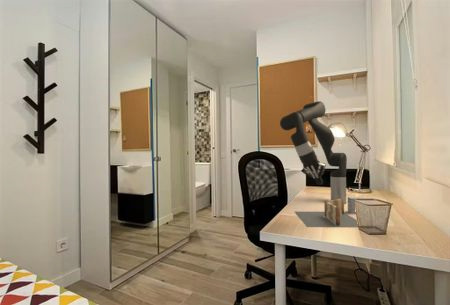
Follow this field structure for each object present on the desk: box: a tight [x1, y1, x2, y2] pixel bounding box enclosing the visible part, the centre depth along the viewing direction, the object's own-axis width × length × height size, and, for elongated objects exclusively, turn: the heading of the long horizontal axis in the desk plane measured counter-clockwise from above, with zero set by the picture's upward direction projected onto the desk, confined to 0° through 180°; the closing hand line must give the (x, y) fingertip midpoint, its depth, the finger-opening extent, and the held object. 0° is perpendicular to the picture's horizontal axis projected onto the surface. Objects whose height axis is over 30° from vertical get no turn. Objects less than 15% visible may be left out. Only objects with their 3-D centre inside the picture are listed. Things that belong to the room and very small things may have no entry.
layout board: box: [294, 211, 359, 228], centre depth 113 cm, size 26×27×1 cm
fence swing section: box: [326, 202, 340, 225], centre depth 108 cm, size 13×2×8 cm, turn 177°
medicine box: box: [347, 196, 366, 215], centre depth 123 cm, size 8×4×9 cm, turn 84°
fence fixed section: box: [323, 198, 345, 217], centre depth 119 cm, size 14×2×9 cm, turn 115°
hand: (320, 184), depth 108 cm, fingers closed
